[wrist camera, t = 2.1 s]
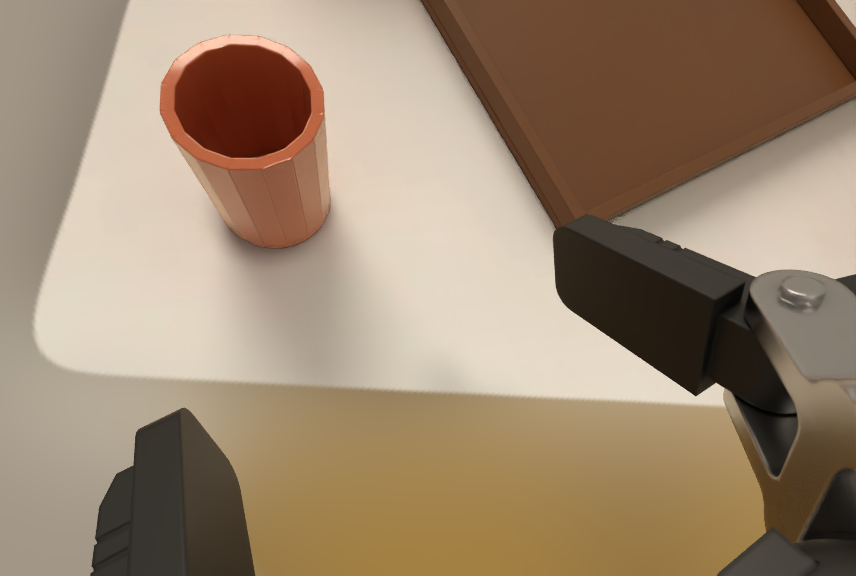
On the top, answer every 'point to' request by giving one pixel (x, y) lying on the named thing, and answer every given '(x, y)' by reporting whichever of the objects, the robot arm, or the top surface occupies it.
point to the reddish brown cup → (252, 135)
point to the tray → (644, 86)
